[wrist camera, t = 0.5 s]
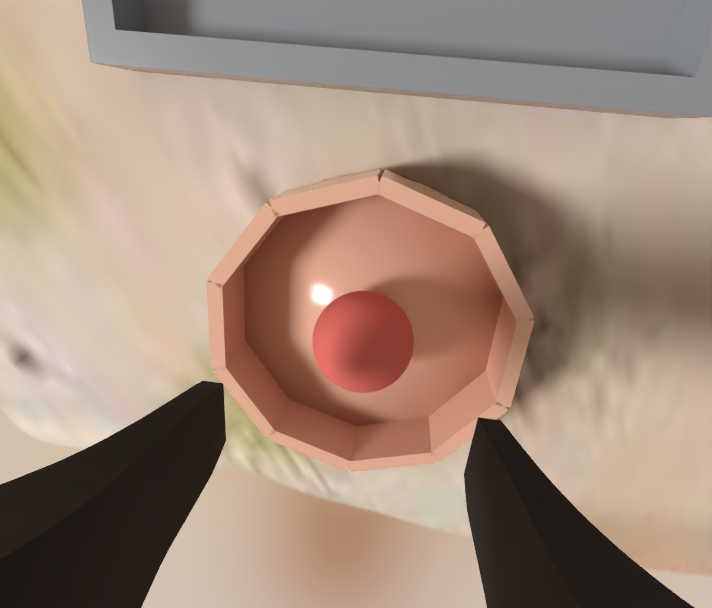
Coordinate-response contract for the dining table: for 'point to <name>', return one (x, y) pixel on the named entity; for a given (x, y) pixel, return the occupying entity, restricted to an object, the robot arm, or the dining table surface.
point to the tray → (429, 48)
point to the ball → (363, 341)
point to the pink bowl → (381, 275)
